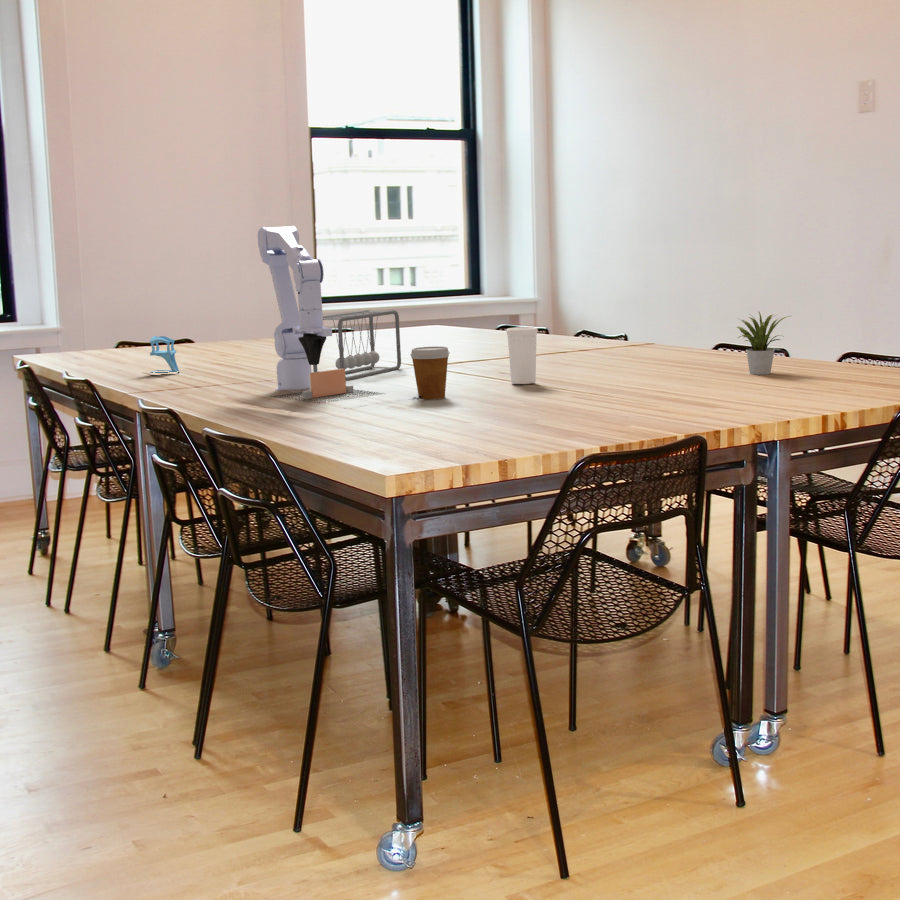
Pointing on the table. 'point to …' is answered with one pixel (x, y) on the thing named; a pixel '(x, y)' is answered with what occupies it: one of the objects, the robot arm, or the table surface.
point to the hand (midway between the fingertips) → (314, 364)
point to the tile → (327, 382)
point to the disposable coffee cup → (430, 371)
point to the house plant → (759, 345)
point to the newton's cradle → (365, 357)
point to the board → (309, 395)
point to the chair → (164, 352)
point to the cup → (522, 354)
